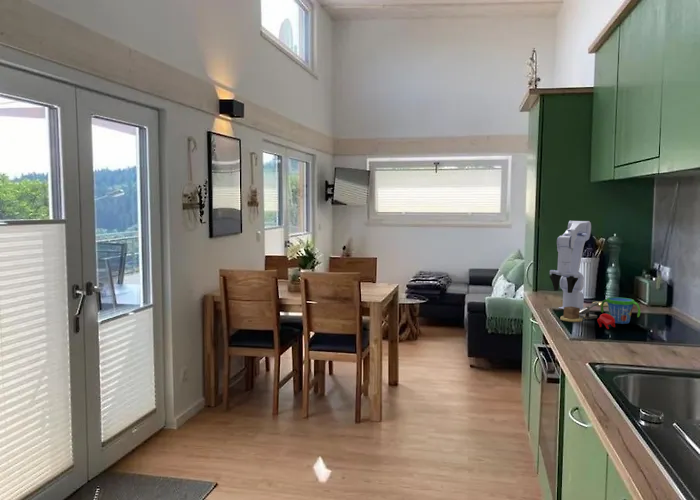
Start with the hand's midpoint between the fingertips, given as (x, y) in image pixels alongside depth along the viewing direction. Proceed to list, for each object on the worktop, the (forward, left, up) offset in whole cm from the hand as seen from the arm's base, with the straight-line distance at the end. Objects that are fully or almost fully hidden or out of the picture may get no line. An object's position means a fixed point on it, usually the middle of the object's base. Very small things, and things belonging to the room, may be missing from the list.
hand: (562, 291), depth 255 cm
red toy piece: (+7, +28, -11) cm, 30 cm away
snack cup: (-7, +24, -11) cm, 27 cm away
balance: (-3, +11, -10) cm, 15 cm away
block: (+7, +11, -9) cm, 16 cm away
